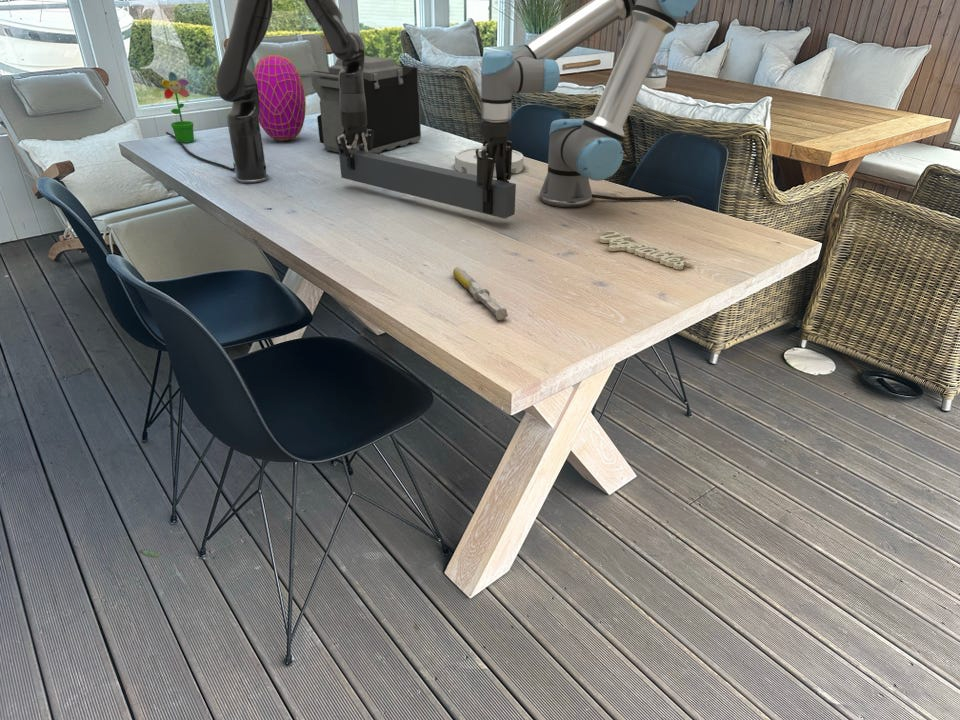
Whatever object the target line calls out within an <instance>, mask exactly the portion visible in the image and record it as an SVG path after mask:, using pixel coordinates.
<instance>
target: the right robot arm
mask: <svg viewBox="0 0 960 720" xmlns="http://www.w3.org/2000/svg"><path fill="white" fill-rule="evenodd" d="M697 3H698V0H590V1H589V2H587V3H586V4H584V5H582V6H581V7H579V8H578V9H576V10H574V12H572V13H570V14H569V15H567V16H566V17H565V18H563V19H561V20H560V21H558V22H556V23H555V24H554V25H552V26H551V27H549V28H548V29H546V30H545V31H543V32H542V33H541V34H538V36H536V37H534V38H533V39H531V40H530V41H529V42H527V43H526V44H524V45H522V46H521V47H519V48H518V49H516V50H514V51H511V50H510V51H506V50H505V51H504V50H489V51H486V52H484V53H483V55H482V57H481V70H480V78H481V79H480V82H481V83H480V85H481V87H480V89H481V90H480V92H481V94H480V95H481V98H480V103H481V104H480V108H481V109H480V118H481V120H480V135H481V136H482V137H483V142H482V146H481V147H482V148H481V149H476V156H477V187H479V188H482V200H483V212H484V213H488V214H493V189H491V185H492V179H494V177H493V172H494V166H495V168H496V176H497V177H496V180H500V181H505V182H509V183H510V180H511V179H512V173H511V165H512V150H514V146H515V145H514V144H515V142H514V141H511V140H508V137H510V135H511V129H512V127H511V126H512V121H511V118H512V104H513V103H512V101H513V99H512V98H513V97H512V96H513V94H535V93H539V94H540V93H542V94H544V93H550V92H554V91H556V89H557V88H558V86H559V83H560V76H561V71H560V66H559V64H558V62H557V60H558V59H560V58H561V57H563V56H564V55H566V54H568V53H569V52H571V51H572V50H573V49H575V48H577V47H578V46H580V45H582V43H584V42H585V41H587V40H588V39H590V38H592V37H593V36H595V35H597V34H598V33H600V32H601V31H602V30H604V29H606V28H607V27H609V26H610V25H612V24H613V23H615V22H616V21H618V22H623V21H625V20H626V19H628V18H629V17H632V18H633V19H632V20H633V23H632V25H631V28H630V30H629V32H628V34H627V36H626V38H625V40H624V43H623V46H622V48H621V50H620V53H619V54H618V56H617V60H616V61H615V64H614V66H613V68H612V70H611V73H610V74H609V75H610V76H609V78H608V80H607V82H606V84H605V87H604V89H603V91H602V93H601V96H600V98H599V100H598V103H597V105H596V106H595V109H594V111H593V114H591V115H589V116H587V117H585V118H561V119H554V120H553V121H552V122H551V124H550V127H549V128H550V129H549V133H548V136H549V141H548V142H549V143H548V156H547V158H548V159H547V173H546V176H545V178H544V181H543V184H542V187H541V189H540V192H539V200H540V202H542V203H543V204H546V205H549V206H553V207H558V208H559V207H560V208H580V207H584V206H588V205H589V204H591V203H592V199H602V200H609V201H622V202H623V201H624V202H625V201H626V202H627V201H629V202H630V201H632V202H633V201H673V200H687V201H689V202H690V203H691V204H696V201H695V200H694V199H693V198H692V197H690V196H689V195H684V194H681V195H672V196H671V195H670V196H610V195H604V194H594V193H592V188H591V184H590V180H591V181H597V182H599V181H604V180H607V179H609V178H611V177H612V176H613V175H614V174H616V173H617V172H618V170H619V169H620V167H621V165H622V163H623V160H624V152H623V147H622V144H623V142H624V139H625V137H626V135H625V132H624V126H625V124H626V122H627V120H628V118H629V115H630V113H631V111H632V109H633V107H634V105H635V103H636V99H637V98H638V95H639V93H640V91H641V90H642V87H643V85H644V82H645V80H646V78H647V76H648V73H649V71H650V69H651V67H652V65H653V63H654V60H655V58H656V56H657V54H658V51H659V50H660V48H661V45H662V43H663V41H664V39H665V37H666V35H668V34H670V33H672V32H674V31H675V30H676V27H677V25H678V24H679V22H680V19H681V18H683V17H685V16H687V15H689V14H690V13H692V11H693V10H694V8H695V6H696V5H697ZM490 158H492V159H490ZM506 174H507V175H506ZM484 213H483V214H484ZM488 214H487V215H488Z"/></svg>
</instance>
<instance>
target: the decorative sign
mask: <svg viewBox="0 0 960 720" xmlns="http://www.w3.org/2000/svg"><path fill="white" fill-rule="evenodd" d="M599 243H602V244H608V245H609V246H608V252H619V251H623V252H625V251H626V252H627V253H630V254H634V255H635V256H638V257H640V258H645V259H646V260H651V261H653V262H659V264H661V265H665V266H666V267H671V268H672V269H674V270H683V269H684V267H686V268H689V267H690V261H689V260H685V259H684V258H685V257H684V254H675V253H674V251H672V250H664V251H659V250H658V247H655V246H654V245H648V244H646V243H643V244H638V243H636V242H632V236H631V235H622V236H620V232H618V231H614V230H606V234H605V235H601V236H600V237H599Z"/></svg>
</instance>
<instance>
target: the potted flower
mask: <svg viewBox="0 0 960 720" xmlns="http://www.w3.org/2000/svg"><path fill="white" fill-rule="evenodd" d="M167 76H168V77H167V78H168V79H165V78H164V79H162V80H161V84H160V85H161V86H162V87H163V88H166V89H165V90H164V93H163V95H164V98H165V99H171V98H172V97H173V96H175V101H176V106H177V108H172V109H171V110H170V112H171V113H172V114H174V115H179V120H180V121H174V122H171V123H170V127H171V129H172V130H173V133H174V134H173V135H174V136H175V137H176V139H175V140H176V142H177V143H179V142H178V141H181V142H182V144H188V143H192V142H194V141H195V135H194V122H193V121H190V120H183V116H182V111H181V109H182V108H183V107H184V106H185V104H184V103H180V101H179V96H178V95H180V96H181V97H183V98H187V97H190V92H189V90H187V89H186V88H184V87H186V86H188V84H189V83H190V81H189V80H188V79H186V78H183V77H182V78H179V79H178V76H177V74H176V73H175V72H174V71H169V73H168V75H167Z"/></svg>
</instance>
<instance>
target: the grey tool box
mask: <svg viewBox="0 0 960 720" xmlns="http://www.w3.org/2000/svg"><path fill="white" fill-rule="evenodd" d="M341 69H342V61H341V60H340V59H338V58H337V59H336V60H335V63H334V64H333V65H330V66H329V67H328V72H327V71H320V70H314V71H313V70H312V71H310V79H311V87H313V90H314V91H315V93H316V94H317V96H318V98H319V110H320V111H319V112H320V114H319V115H317V116H316V119H317V128H318V138H319V143H320V144H323V146H324V149H325V150H327V151H330V152H335V153H339V148H338V145H337V142H336V136H341V135H342V134H343V130H344V128H343V126H342V124H341V113H340V102H339V98H340V92H339V80H338V76H339V72H340V71H341ZM363 81H364V94H365V99H366V111H367V125H366V128H367V129H370V130H374V139H373V147H372V150H370V151H369V152H371V153H375V154H381V153H382V152H383V151H391V150H395V149H396V148H397V147H405V146H407V145H408V144H416V143H418V142H419V141H421V137H422V128H421V97H420V92H419V91H420V89H419V68H418V67H417V66H408V65H400V64H396V62H395V60H394V59H393V58H385V57H377V56H367V55H365V60H364V70H363ZM345 140H346V139H345ZM349 145H350V144H349ZM350 146H352V145H350ZM368 146H369V142H368ZM356 149H357V150H359V147H358V146H357V145H356Z"/></svg>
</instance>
